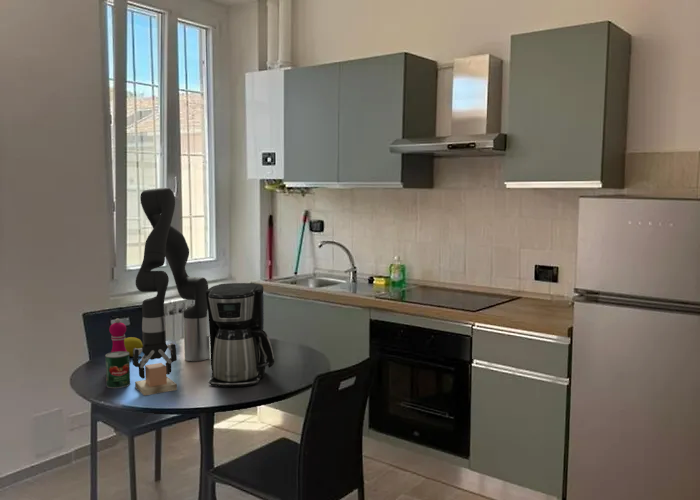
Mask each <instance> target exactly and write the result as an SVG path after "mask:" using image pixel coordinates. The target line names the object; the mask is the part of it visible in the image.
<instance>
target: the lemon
mask: <svg viewBox="0 0 700 500" xmlns="http://www.w3.org/2000/svg"><path fill="white" fill-rule="evenodd" d="M124 345H125V348H126V350H127V352H129V358H130V357H131V358H133V349H134V348H137V349H140V348H142V347H143V341H142V340H141V339H140V338H137V337H134V336H133V337H132V336H130V337H129V336H128V337H125V339H124Z"/></svg>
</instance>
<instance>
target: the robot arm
mask: <svg viewBox="0 0 700 500" xmlns="http://www.w3.org/2000/svg"><path fill="white" fill-rule="evenodd" d="M139 196H140V197H139V198H140V200H139V201H140V204H141V207H142V210H143V212H144V214H145V216H146V217H147V220H148V221H149V223H150V225H151V227H152V228H153V229H152V230H151V231H150V233H149V234H148V236H147V238H146V241H145V243H144V251H143V258H142V262H141V266H140V268H139V270H138V272H137V275H136V277H135V286H136V289H137V291H139V292H142V293H148V292H149V293H151V292H153V293H154V292H156V296H153V297H149V298H146V299H144V300H143V301H142V305H141V306H142V308H141V309H142V311H141V312H142V322H141V331H142V345H143V347H142V348H140V349H137V348H134V349H133V357H132V365H133V366H134V367H136V368H138V375H139V376H138V377H140V378H141V379H142V380H143V379H144V380H145V379H146V377H145V365H147V363H148V362H149V360H151V361H152V360H159V359H162V358H163V360H164V361H165V366H166V376H168V375H169V376H170V375H171V373H172V364H173V362H176V361H177V359H178V357H177V347H176V346H177V345H176V344H174V343H172V342H171V343H169V344H167V339H166V338H167V336H166V335H167V333H166V331H167V330H166V317H165V298H166V294H167V289H168V286H169V279H170V278H169V275H168V273H167V272H166V271H164V270H154V269H157V268H161V267H163V266H164V265H165V262H166V260H167V263H168V265H169V267H170V270H171V273H172V275H173V279H174V284H175V287H176V289H177V292H178V295H179V296H180V298H181V299H183V300H186V301H188V300H189V301H194V304H193V306H191V307H188V308H186V309H184V310H183V314H182V315H183V343H184V346H183V347H184V361H187V362H201V361H205V360H208V359H211V355H210V334H208V307H207V299H206V291H207V290H208V289H209V282H208V280H207V279H206V278H205V277H201V276H189V275H188V273H187V270H186V264H187V262H188V260H189V257H190V247H189V246H188V243H187V240H186V238H185V236H184V234H182V233H181V232H180V231H179V229H177V228H176V227H174V226H173V225H172V220H173V217H174V212H175V208H176V207H175V206H176V197H175V193H174V192H173V190H172V189H171V188H170V187H159V188H151V189H150V188H149V189H146V190H143V191H142V192H141V193H140V195H139ZM167 350H169V351H170V357H169V356H168V354H166V352H167ZM141 353H143V356H142V357H141V360H140V361H139V356H140V355H141Z"/></svg>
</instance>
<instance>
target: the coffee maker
mask: <svg viewBox="0 0 700 500" xmlns="http://www.w3.org/2000/svg"><path fill="white" fill-rule="evenodd" d="M206 299H207V307H208V310H207V317H208V328H209V329H208V331H209V341H210V367H211V368H210V369H211V376H210V379H209V380H208V381H207V383H208V384H209V385H210V386H212V387H213V386H214V387H227V388H228V387H235V388H236V387H247V386H255V385H257V384H258V383H259V382H260V380H261V379H262V378H265V374H266V373H265V371H266V367H267V366H268V368H269V369H270V368H272V366H273V365H274V363H275V356H274V351H273V347H272V342H271V340H270V337H269V336H268V334H267V332H266V331H265V330H264V325H265V324H264V320H265V319H264V318H265V317H264V316H265V315H264V314H265V313H264V308H265V307H264V306H265V305H264V300H265V299H264V286H263V284H259V283H253V282H236V283H232V282H231V283H220V284H218V285H217V284H216V285H213V286H211V287H210V288H209V287H208V290H207V291H206Z"/></svg>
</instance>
